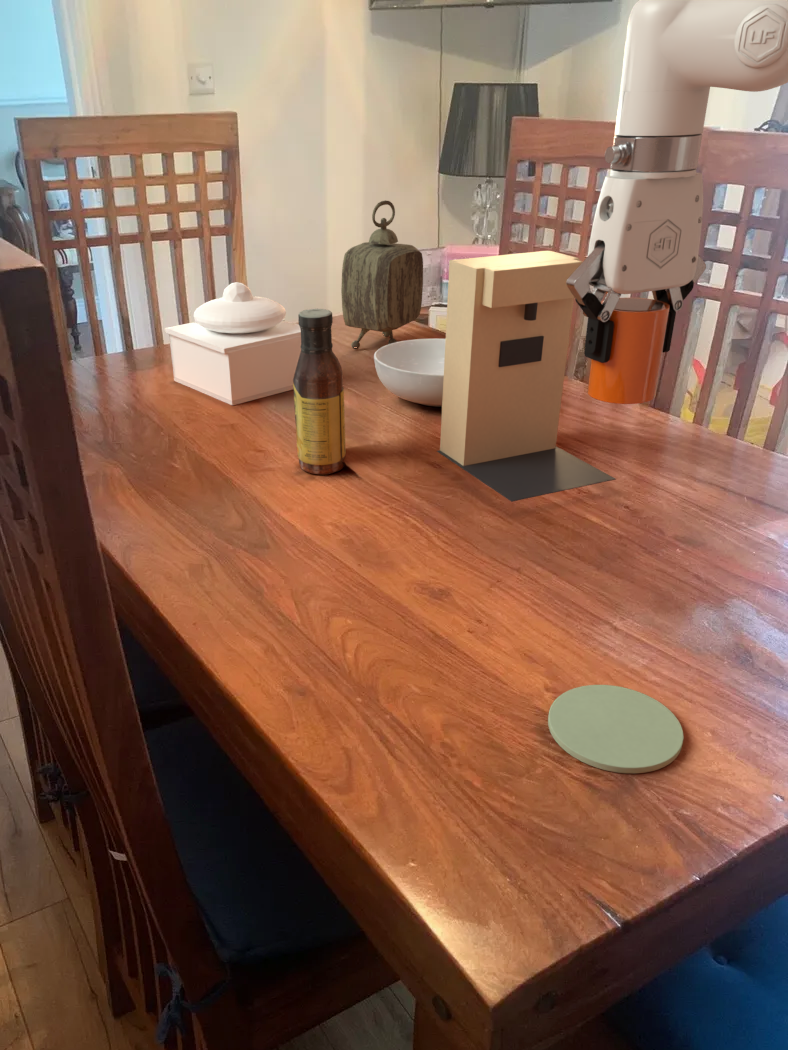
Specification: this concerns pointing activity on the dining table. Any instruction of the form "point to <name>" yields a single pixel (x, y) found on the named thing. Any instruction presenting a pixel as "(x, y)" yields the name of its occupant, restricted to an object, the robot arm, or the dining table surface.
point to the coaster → (615, 729)
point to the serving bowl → (413, 370)
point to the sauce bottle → (319, 397)
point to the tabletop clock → (381, 282)
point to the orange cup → (632, 353)
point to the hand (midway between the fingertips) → (626, 352)
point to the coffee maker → (510, 373)
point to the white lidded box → (236, 347)
